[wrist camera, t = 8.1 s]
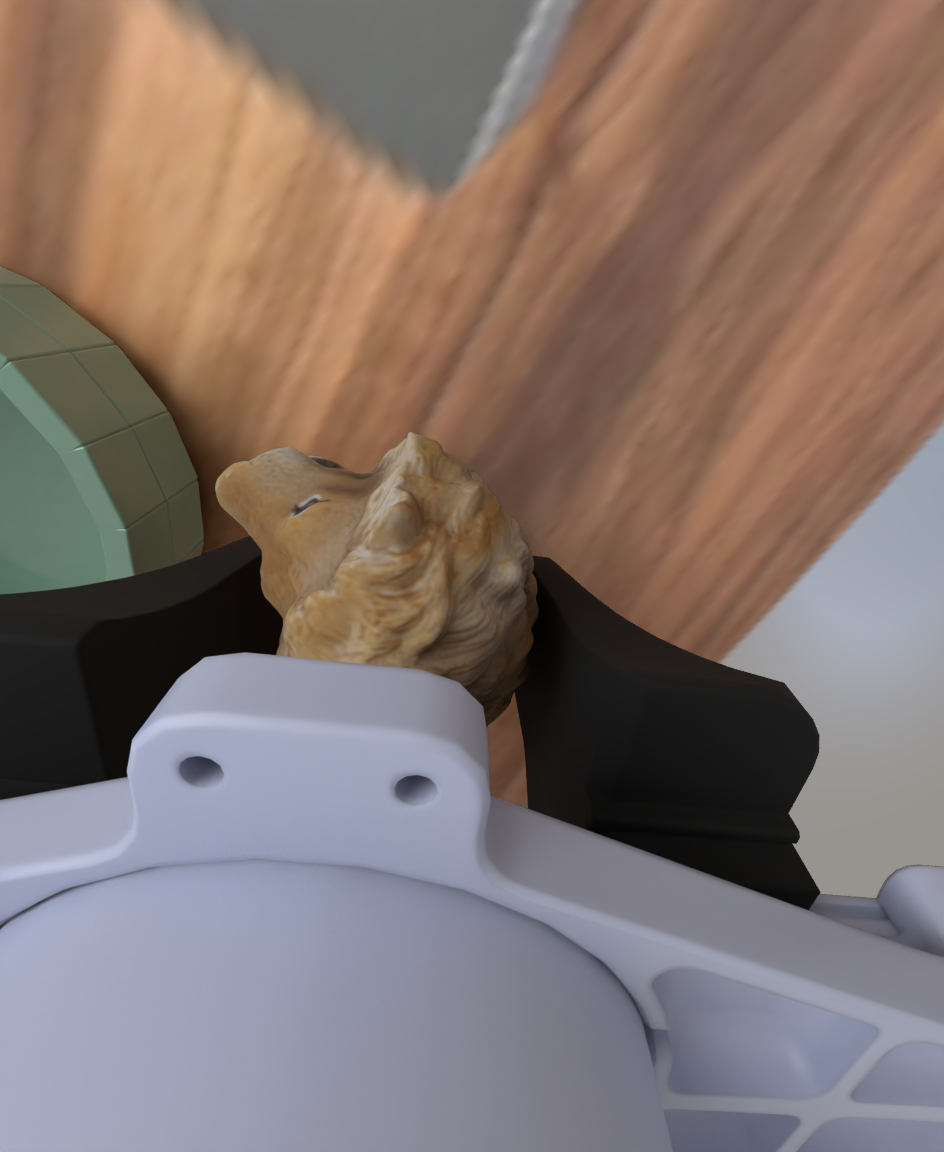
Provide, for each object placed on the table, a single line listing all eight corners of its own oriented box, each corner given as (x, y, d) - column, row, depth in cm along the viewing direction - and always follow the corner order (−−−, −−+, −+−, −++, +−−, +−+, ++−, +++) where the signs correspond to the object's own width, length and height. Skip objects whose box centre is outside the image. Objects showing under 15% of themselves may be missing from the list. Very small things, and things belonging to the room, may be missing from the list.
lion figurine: (337, 340, 13) (102, 457, 5) (558, 394, 13) (653, 579, 6) (293, 771, 20) (167, 1099, 12) (439, 797, 20) (407, 1129, 13)
